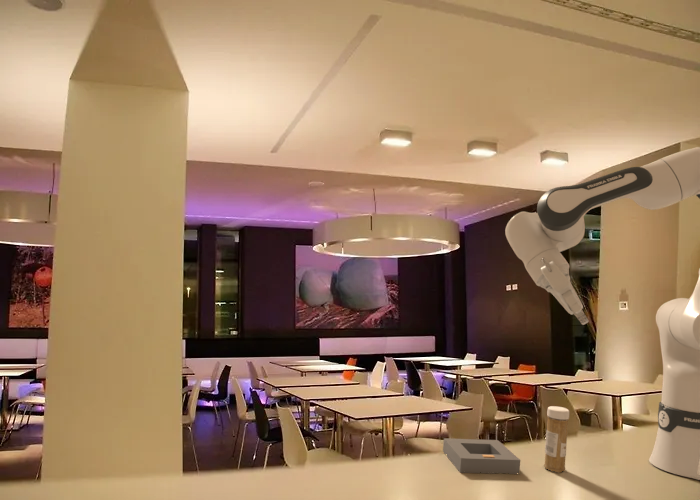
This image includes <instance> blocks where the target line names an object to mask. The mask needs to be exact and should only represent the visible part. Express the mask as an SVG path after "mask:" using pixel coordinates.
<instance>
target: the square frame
mask: <svg viewBox="0 0 700 500" xmlns="http://www.w3.org/2000/svg"><path fill="white" fill-rule="evenodd" d="M442 452H443V453H444V455H445V454H447V456H446V457H447V458H448V459H449V461H450V462H451V463H452V464H453V466H454V467H455V468H456V469H457V471H458V472H459V473H460V474H461V473H462V474H463V473H466V474H468V473H470V474H495V473H509V474H508V475H520V470H521V469H520V468H521V459H520V458H519V457H518V456H516V455H515V454H514V453H513V452H512V451H511V450H510V449H509V448H507V447H506V446H505V445H504V444H503V443H502V442H501V441H499V440H498V439H473V438H471V439H470V438H443V442H442ZM480 472H481V473H480ZM517 473H518V474H517Z"/></svg>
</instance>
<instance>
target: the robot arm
mask: <svg viewBox="0 0 700 500" xmlns="http://www.w3.org/2000/svg"><path fill="white" fill-rule="evenodd" d="M694 196H696V197H698V199H699V200H700V146H696V147H693V148H688V149H684V150H681V151H680V150H679V151H678V152H675V153H672V154H670V155H667V156H664V157H661V158H659V159H657V160H655V161H653V162H650V163H647V164H644V165H642V166H632V167H627V168H623V169H621V170H617V171H614V172H611V173H608V174H606V175H605V174H604V175H602V176H599V177H596V178H594V179H591V180H588V181H584V182H583V183H578V184H573V185H565V186H557V187H553V188H550V189H549V190H547V191H546V192H545V193H543V194H542V195H541V197H540V198H539V200H538V201H537V205H536V206H537V207H536V212H528V211H520V212H518V213H516V214H514V215H513V216H512V217H511V218H510V220H508V222H507V224H506V226H505V230H504V231H505V237H506V240H507V243H509V245H510V247H511V249H512V250H513V252H514V254H515V255H516V257H517V258H518V259H519V260H521V261H522V263H523V265H524V268H525V270H526V271H527V273H528V275H529V276H530V277H531V279H532V280H533V282H534V283H535V285H536V286H538V287H540V288H542V289H544V290H545V291H547V293H550V294H551V295H553V297H554V298H555V300H557V302H558V303H559V304H560V305H561V306H562V307H563V308H564V310H565V311H566V312H567V313H568V314H570V315H574V316H575V317H576V318H577V320H578V321H579V322H580V324H581V325H582V326H584V325H586V324H588V323H589V322H590V321H589V319H588V317H587V316H586V314H585V312H584V311H583V309H584V306H583V303H582V301H581V299H580V297H579V296H578V293H577V292H576V290H575V288H574V286H573V285H572V282H571V276H570V264H569V263H568V261H567V260H566V258H565V257H564V255H563V254H562V253H563V252H565V251H568V250H570V249H571V248H575V246H577V245H579V244H580V243H581V242H582V241H583V239H584V237H585V232H586V228H585V227H586V225H585V219H584V218H585V216H586V214H587V213H588V212H589V211H590V210H592V209H595V208H598V207H601V206H604V205H607V204H609V203H613V202H616V201H618V200H624V199H630V200H632V201H633V202H634V203H635V204H636V205H638V206H639V207H641V208H644V209H646V210H651V211H655V210H660V209H664V208H668V207H669V206H673V205H675V204H677V203H681V201H684V200H686V199H689V198H691V197H694ZM561 252H562V253H561ZM696 281H697V282H696V284H695V286H694V289H693V292H692V293H691V295H690V297H689V298H688V297H687V298H686V297H678V298H674V299H671V300H668V301H666V302H664V303H663V304H661V305H660V307H658V309H657V311H656V314H655V324H656V326H657V328H658V332H659V341H660V343H659V344H660V351H661V358H662V387H661V401H660V402H658V412H657V425H658V428H657V433H656V437H655V442H654V445H653V449H652V451H651V455H650V456H649V458H648V461H649V463H650V464H651V465H653V466H654V467H656V468H658V469H660V470H662V471H665V472H668V473H671V474H674V475H678V476H681V477H685V478H690V479H694V480H697V481H700V268H699V269H698V278H697V280H696Z"/></svg>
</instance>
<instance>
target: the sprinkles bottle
mask: <svg viewBox="0 0 700 500" xmlns="http://www.w3.org/2000/svg"><path fill="white" fill-rule="evenodd" d="M546 414H547V422H546V423H547V424H546V425H547V426H546V433H545V447H544V449H545V450H544V453H545V455H544V464H543V467H545V468H546V469H545V470H547V469H548V470H547V471H549V470H551V471H550V472H552V471H555V472H554V473H563V472H562V471H564V472H565V471H566V455H567V442H568V441H567V440H568V424H569V423H568V422H569V419H570V410H569V409H568V408H566V407H562V406H557V405H556V406H555V405H551V406H548V407H547V411H546Z"/></svg>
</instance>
